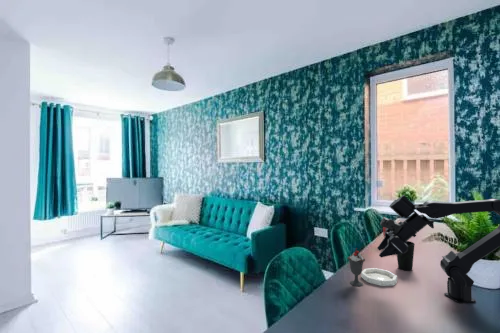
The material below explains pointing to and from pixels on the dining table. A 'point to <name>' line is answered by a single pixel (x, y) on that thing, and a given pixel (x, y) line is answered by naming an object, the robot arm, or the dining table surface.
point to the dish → (379, 277)
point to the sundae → (356, 266)
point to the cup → (406, 258)
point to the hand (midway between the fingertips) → (379, 252)
